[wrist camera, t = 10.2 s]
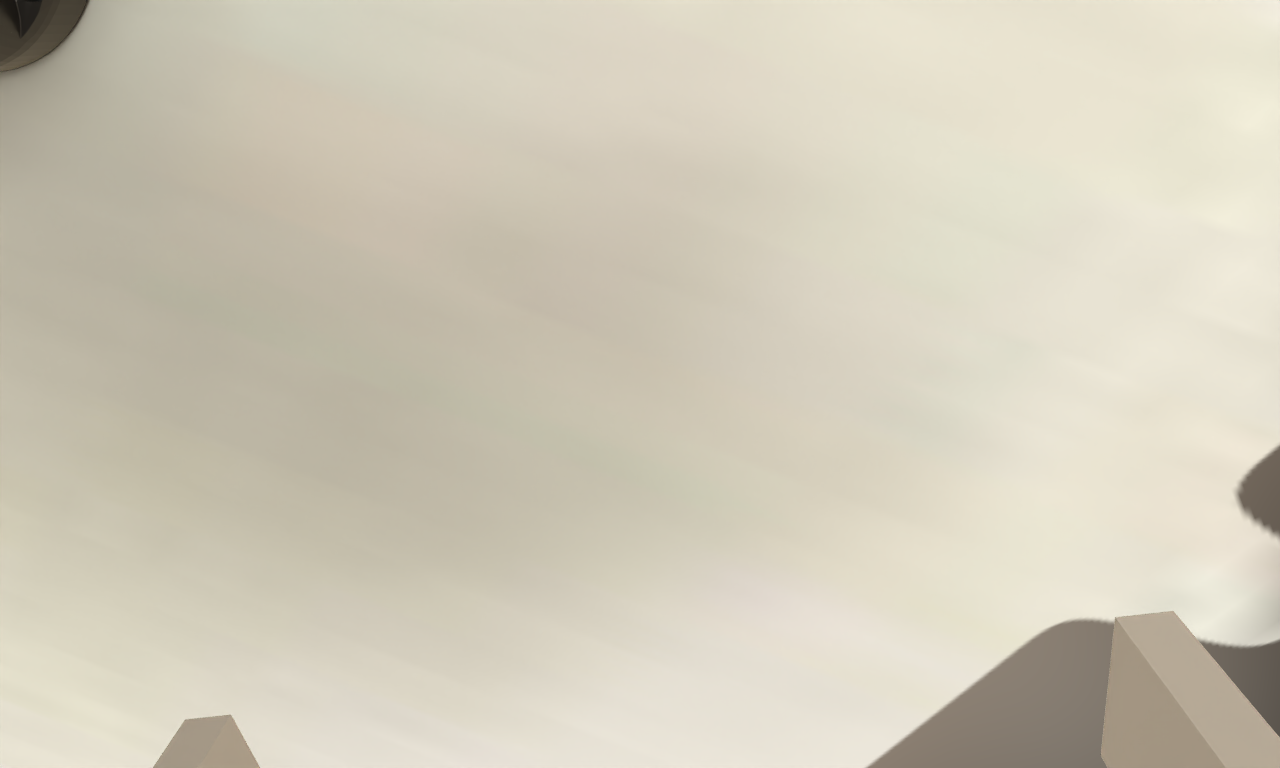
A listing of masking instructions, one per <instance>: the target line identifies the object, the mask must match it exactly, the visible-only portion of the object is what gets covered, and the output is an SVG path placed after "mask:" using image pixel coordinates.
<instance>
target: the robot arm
mask: <svg viewBox="0 0 1280 768" xmlns="http://www.w3.org/2000/svg"><path fill="white" fill-rule="evenodd" d="M86 1H87V0H0V72H1V71H8V70H12V69H16V68H19V67H22V66H25V65H27V64H30V63H32V62H34V61H36V60H38V59H40V58H41V57H43V56H45V55H46V54H47V53H49V52H50V51H51V50H53V49H54V48H55V47H56V46H57V45H58V44H60V43H61V42H62V41H63V40H64V38H65V37H66V36H67V35H68V34H69V32H70V31H71V30H72V28H73V27H74V25H75V24H76V22H77V20H78V19H79V17H80V15H81V13H82V11H83V9H84V7H85V4H86ZM1101 757H1102V758H1103V760H1104V762H1105V763H1106V765H1107V767H1108V768H1280V738H1279V736H1278V735H1277V734H1276V733H1275V732H1274V731H1273V729H1272V728H1271V727H1270V726H1269V725H1268V724H1267V722H1266V721H1265V720H1264V719H1263V717H1262V716H1261V715H1260V714H1259V713H1258V711H1257V710H1256V709H1255V708H1254V707H1253V705H1252V704H1251V703H1250V702H1249V701H1248V699H1247V698H1246V697H1245V696H1244V695H1243V694H1242V692H1241V691H1240V690H1239V689H1238V688H1237V686H1236V685H1235V684H1234V683H1233V682H1232V680H1231V679H1230V678H1229V677H1228V676H1227V674H1226V673H1225V672H1224V671H1223V670H1222V668H1221V667H1220V666H1219V665H1218V664H1217V663H1216V661H1215V660H1214V659H1213V658H1212V657H1211V655H1210V654H1209V653H1208V652H1207V651H1206V650H1205V648H1204V647H1203V646H1202V645H1201V643H1200V642H1199V641H1198V640H1197V639H1196V637H1195V636H1194V635H1193V634H1192V633H1191V632H1190V630H1189V629H1188V628H1187V627H1186V626H1185V624H1184V623H1183V622H1182V621H1181V620H1180V618H1179V617H1178V616H1177V615H1176V614H1175V612H1174V611H1169V612H1160V613H1151V614H1142V615H1133V616H1124V617H1115V624H1114V634H1113V643H1112V653H1111V663H1110V672H1109V682H1108V692H1107V701H1106V711H1105V720H1104V730H1103V739H1102V748H1101ZM153 768H260V767H259V765H258V763H257V761H256V760H255V758H254V756H253V754H252V752H251V751H250V749H249V747H248V745H247V743H246V741H245V740H244V738H243V736H242V734H241V732H240V730H239V729H238V727H237V725H236V723H235V721H234V719H233V718H232V716H231V715H224V716H215V717H206V718H197V719H188V720H185V721H184V722H183V724H182V725H181V727H180V728H179V730H178V731H177V733H176V734H175V736H174V737H173V739H172V740H171V742H170V743H169V745H168V746H167V748H166V749H165V751H164V752H163V754H162V755H161V756H160V758H159V759H158V761H157V762H156V764H155V765H154V767H153Z"/></svg>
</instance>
